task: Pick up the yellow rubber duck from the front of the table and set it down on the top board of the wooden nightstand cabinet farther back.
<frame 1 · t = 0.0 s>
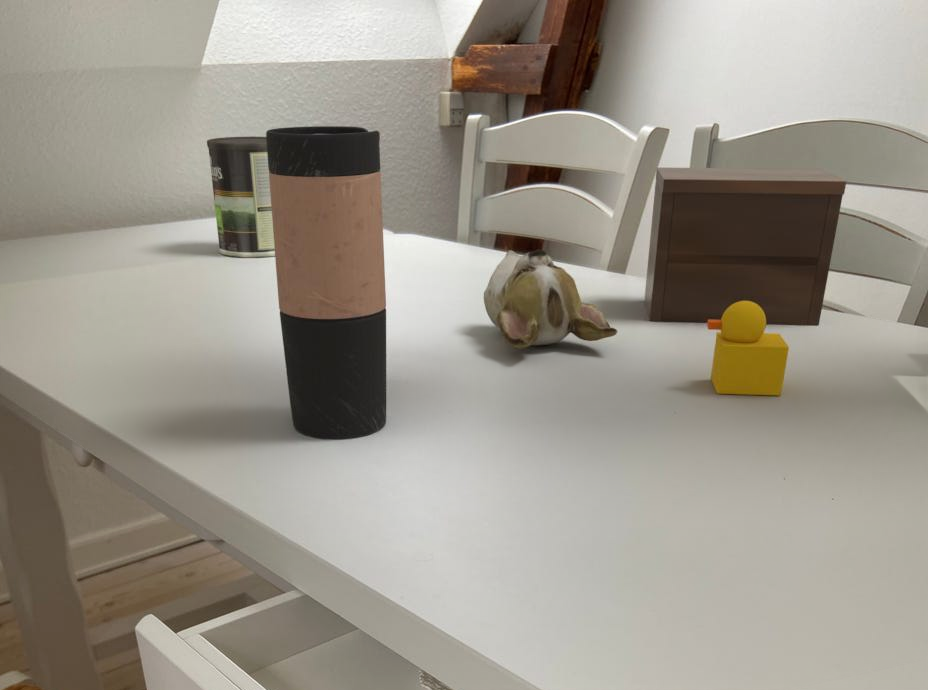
wooden nightstand cabinet: (727, 312, 108), on the table
ceramic sculpture: (536, 344, 97), on the table
travel mug: (339, 426, 76), on the table
coffee can: (256, 252, 141), on the table
duck: (744, 387, 84), on the table
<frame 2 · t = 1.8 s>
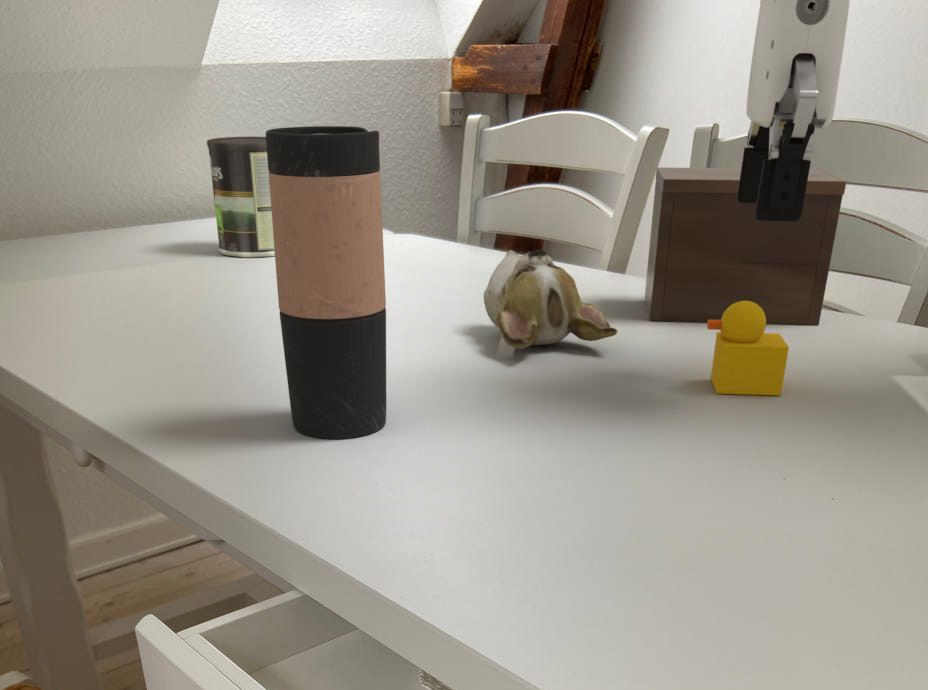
hand: (766, 210, 77), 14 cm above the table, tool pointing down, fingers open, 9 cm apart
nothing on the table moved.
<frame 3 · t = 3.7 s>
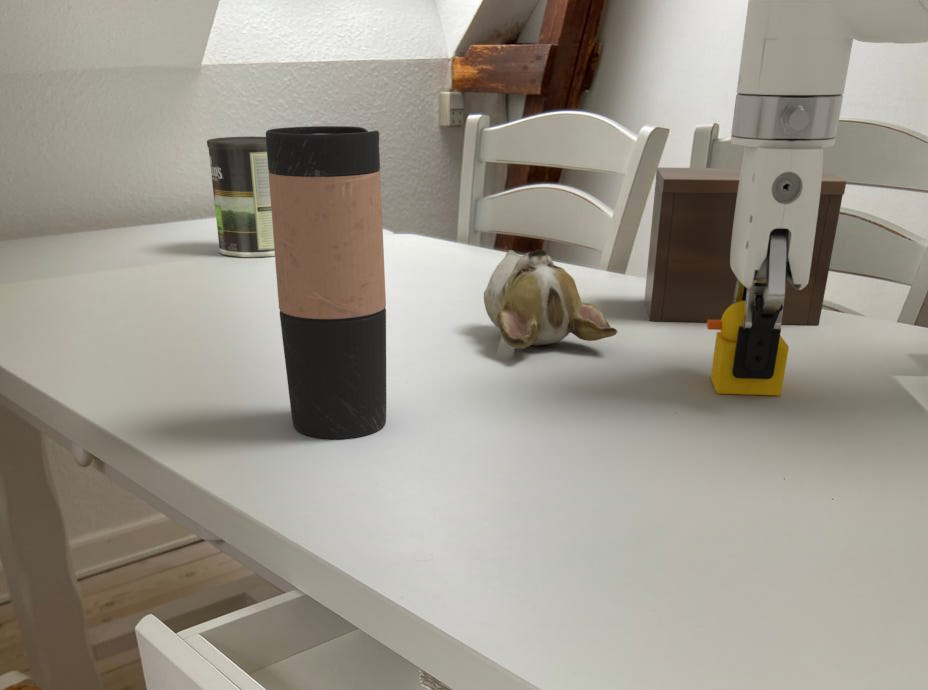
hand: (747, 366, 83), 2 cm above the table, tool pointing down, fingers closed on duck, 4 cm apart
duck: (744, 387, 84), on the table, touching gripper
everything else where it was.
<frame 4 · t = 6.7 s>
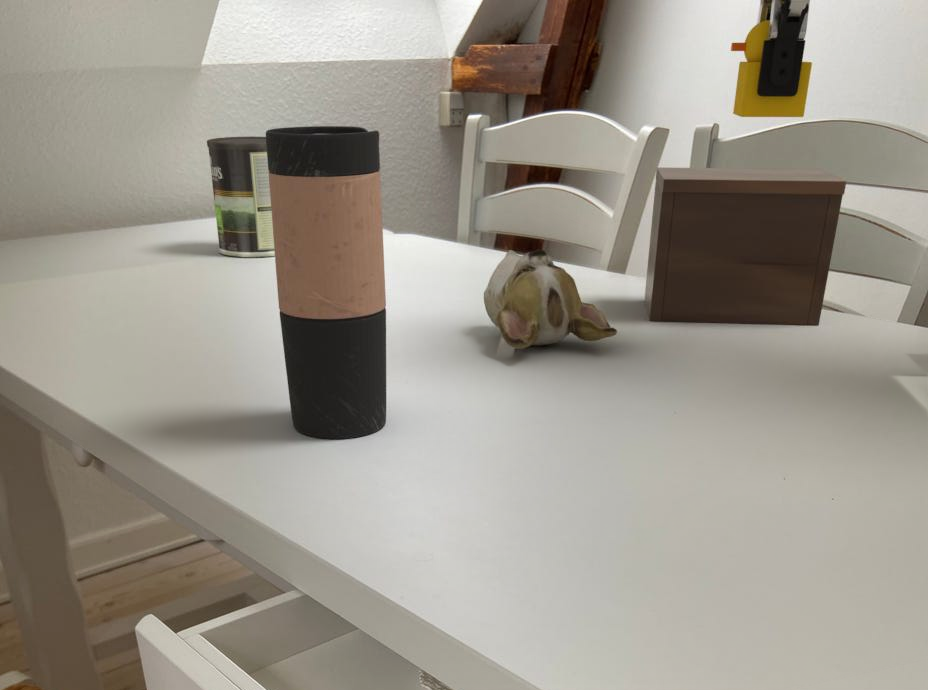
hand: (771, 92, 85), 21 cm above the table, tool pointing down, fingers closed on duck, 4 cm apart
duck: (767, 115, 86), point 20 cm above the table, touching gripper
everything else where it was.
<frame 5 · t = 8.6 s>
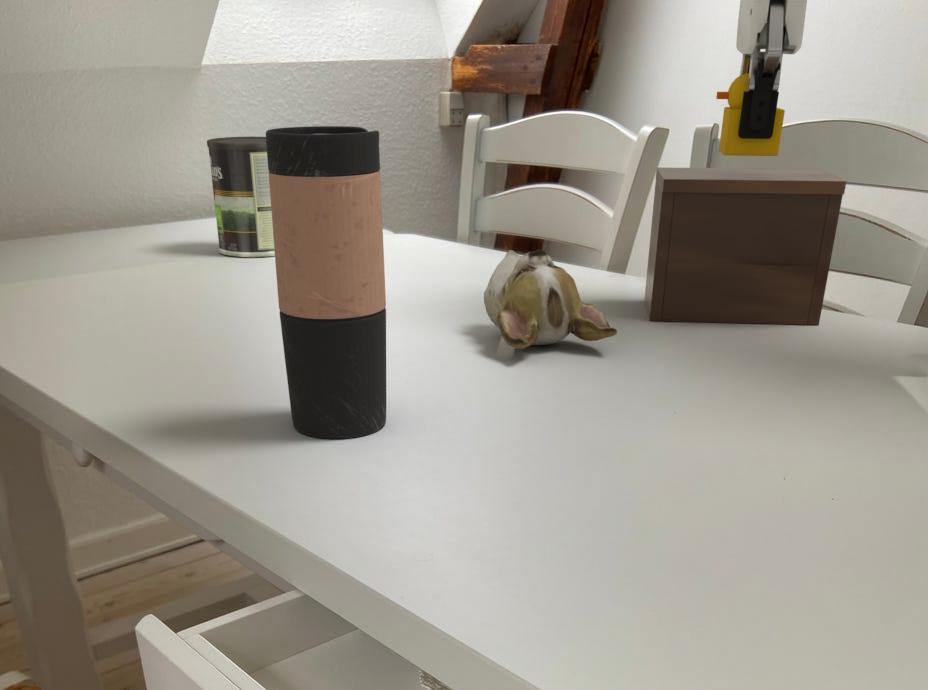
hand: (751, 134, 99), 17 cm above the table, tool pointing down, fingers closed on duck, 4 cm apart
duck: (747, 153, 100), point 15 cm above the table, touching gripper
everything else where it was.
when the fingers open (15 cm above the table, at t = 9.6 s): duck stays where it is, resting on wooden nightstand cabinet.
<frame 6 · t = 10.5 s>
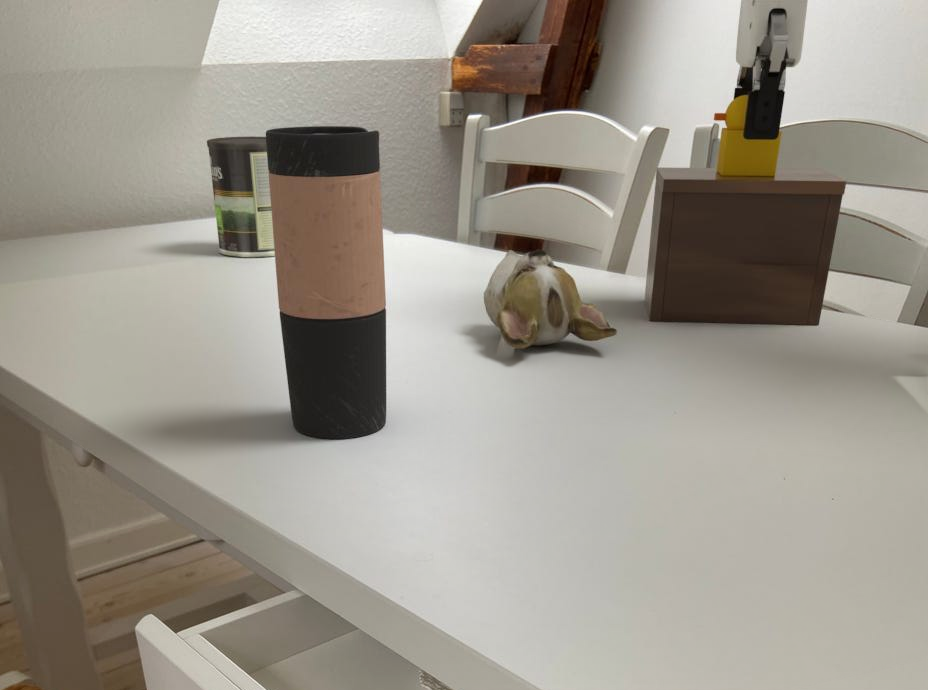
hand: (752, 135, 99), 17 cm above the table, tool pointing down, fingers open, 9 cm apart
duck: (745, 173, 101), point 14 cm above the table, touching wooden nightstand cabinet
everything else where it was.
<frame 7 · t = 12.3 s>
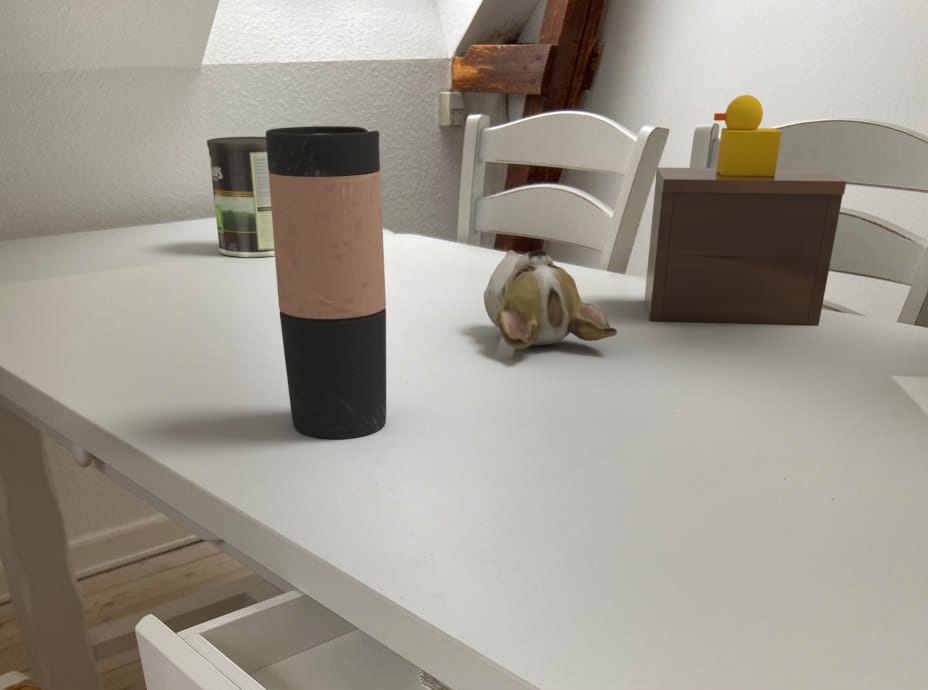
nothing on the table moved.
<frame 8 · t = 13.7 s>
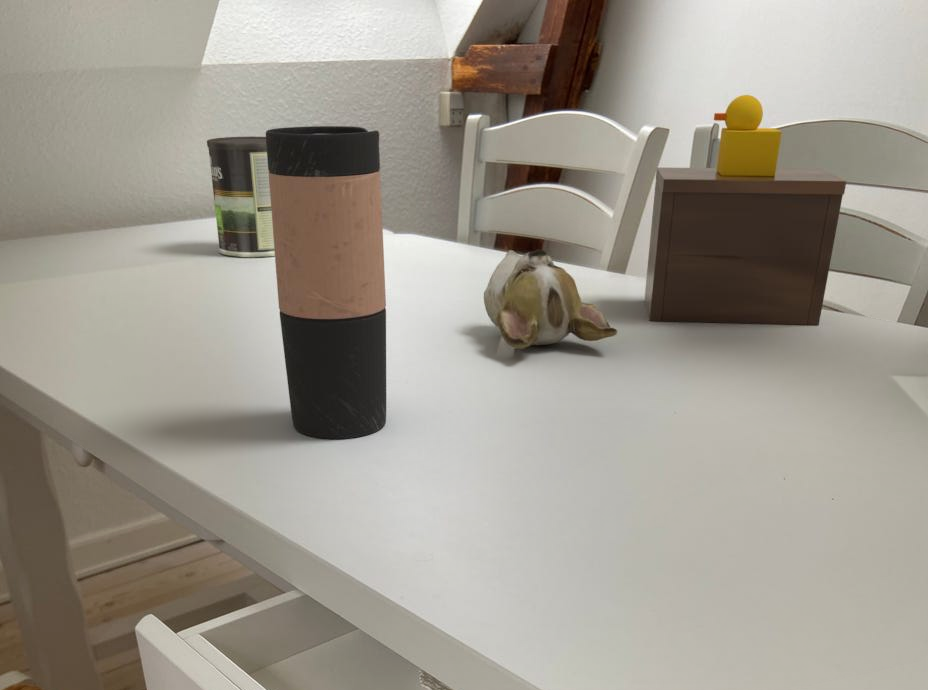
nothing on the table moved.
at the end: duck inside the target area on the wooden nightstand cabinet (0.1 cm from its centre), point 13.6 cm above the wooden nightstand cabinet's base; duck tilted 0°; the gripper is holding nothing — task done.
